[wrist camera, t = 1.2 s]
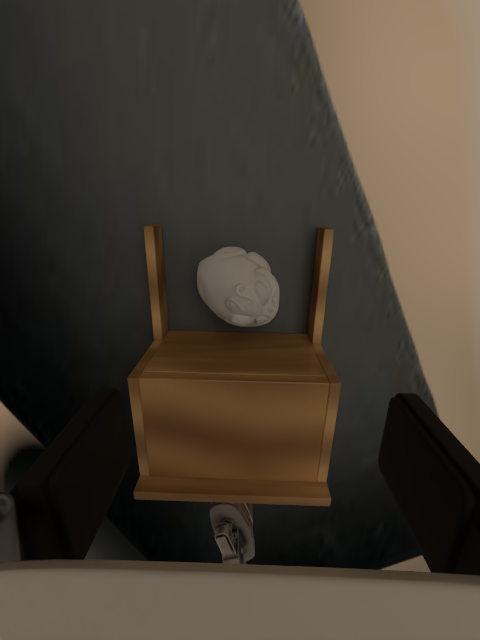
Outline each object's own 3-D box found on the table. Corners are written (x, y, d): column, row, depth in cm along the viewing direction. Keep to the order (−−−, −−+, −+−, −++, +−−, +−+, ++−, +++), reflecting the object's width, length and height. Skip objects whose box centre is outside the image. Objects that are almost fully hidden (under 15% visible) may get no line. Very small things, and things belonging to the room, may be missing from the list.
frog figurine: (250, 322, 29) (251, 355, 23) (189, 282, 28) (171, 305, 22) (288, 270, 28) (301, 290, 21) (224, 226, 26) (216, 232, 20)
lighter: (258, 492, 37) (262, 588, 28) (232, 497, 38) (227, 594, 28) (239, 442, 34) (236, 529, 25) (211, 448, 35) (198, 536, 26)
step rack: (152, 224, 26) (95, 233, 17) (327, 227, 26) (374, 238, 16) (168, 413, 33) (134, 499, 24) (306, 417, 33) (330, 506, 23)
